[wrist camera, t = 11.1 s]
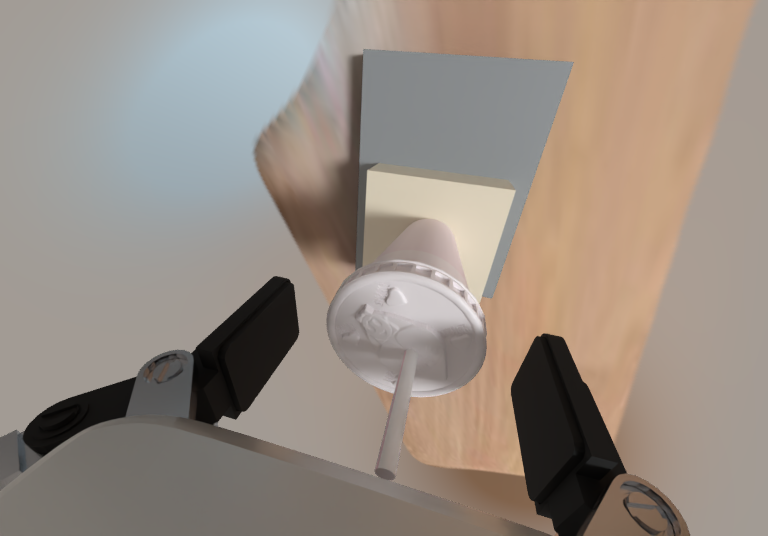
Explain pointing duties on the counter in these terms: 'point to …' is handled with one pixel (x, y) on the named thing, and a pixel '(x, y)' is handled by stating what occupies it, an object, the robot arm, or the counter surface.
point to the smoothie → (409, 326)
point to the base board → (452, 150)
